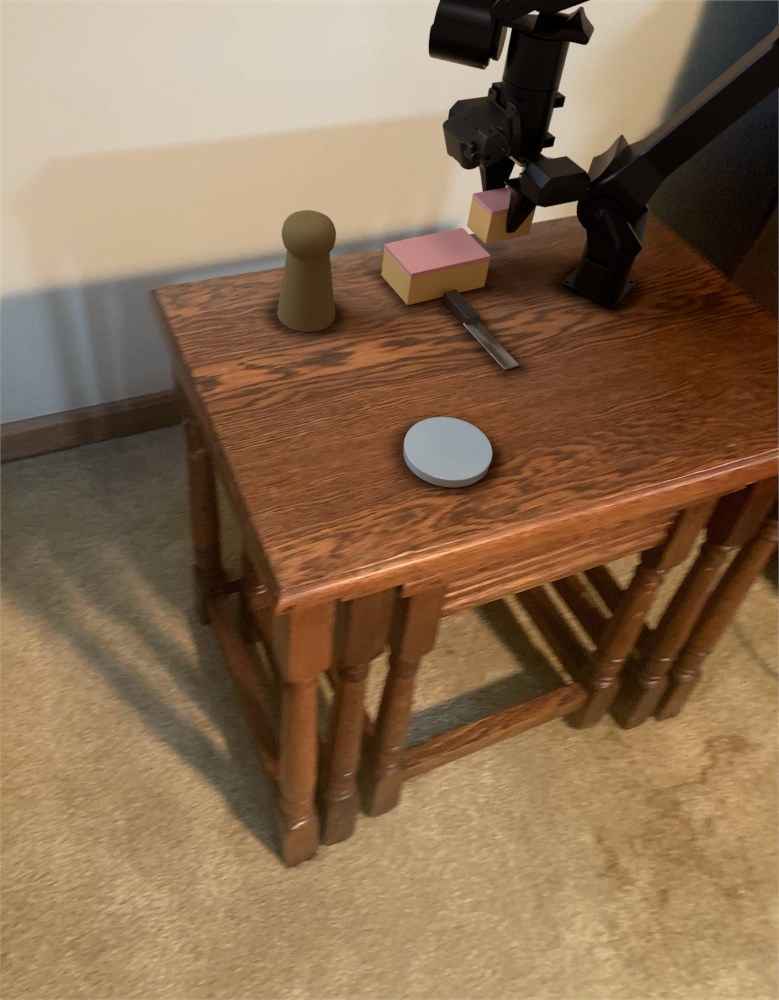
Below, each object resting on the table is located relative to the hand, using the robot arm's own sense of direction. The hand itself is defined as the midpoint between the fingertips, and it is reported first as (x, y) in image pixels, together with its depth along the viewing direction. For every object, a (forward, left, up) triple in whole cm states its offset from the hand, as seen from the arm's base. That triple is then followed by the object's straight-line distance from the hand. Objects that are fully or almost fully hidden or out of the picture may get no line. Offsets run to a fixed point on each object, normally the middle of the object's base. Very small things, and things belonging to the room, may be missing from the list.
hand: (499, 222), depth 94 cm
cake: (+9, -2, -5) cm, 10 cm away
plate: (+31, +14, -5) cm, 34 cm away
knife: (+13, +6, -5) cm, 15 cm away
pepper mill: (+23, -9, -5) cm, 25 cm away
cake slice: (0, 0, -1) cm, 1 cm away
